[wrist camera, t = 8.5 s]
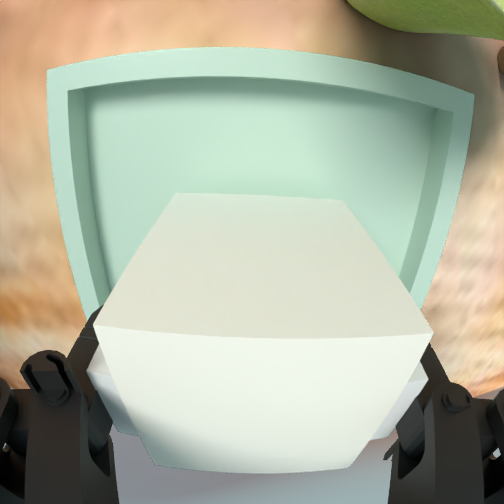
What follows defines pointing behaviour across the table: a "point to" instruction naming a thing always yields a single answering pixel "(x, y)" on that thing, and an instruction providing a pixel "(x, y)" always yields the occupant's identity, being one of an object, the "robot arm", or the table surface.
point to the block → (259, 335)
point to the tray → (251, 148)
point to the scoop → (501, 59)
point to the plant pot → (437, 16)
